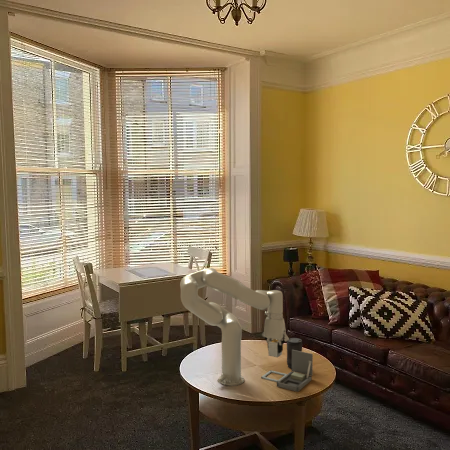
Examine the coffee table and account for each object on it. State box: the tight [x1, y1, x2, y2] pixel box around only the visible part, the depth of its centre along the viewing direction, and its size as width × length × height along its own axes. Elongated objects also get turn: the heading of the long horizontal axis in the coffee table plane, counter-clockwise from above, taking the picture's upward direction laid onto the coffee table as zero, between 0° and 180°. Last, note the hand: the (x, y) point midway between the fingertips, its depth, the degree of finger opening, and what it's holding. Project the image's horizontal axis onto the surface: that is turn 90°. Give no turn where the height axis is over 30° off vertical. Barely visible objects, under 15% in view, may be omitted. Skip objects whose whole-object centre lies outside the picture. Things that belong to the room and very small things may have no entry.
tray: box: [260, 370, 288, 383], centre depth 243 cm, size 10×10×1 cm
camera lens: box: [286, 337, 303, 370], centre depth 256 cm, size 8×8×15 cm
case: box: [276, 350, 314, 393], centre depth 235 cm, size 17×11×14 cm, turn 147°
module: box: [267, 339, 283, 358], centre depth 242 cm, size 5×5×8 cm
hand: (275, 350), depth 242 cm, fingers closed on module, 5 cm apart
